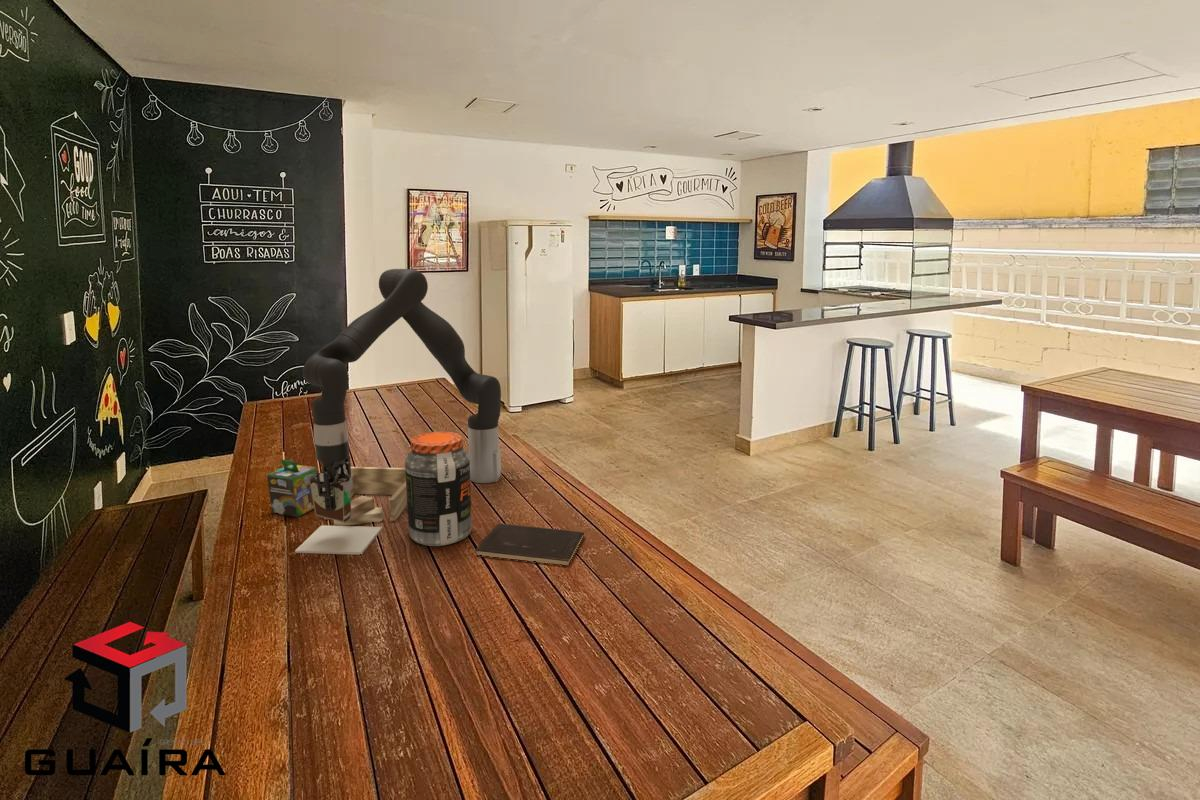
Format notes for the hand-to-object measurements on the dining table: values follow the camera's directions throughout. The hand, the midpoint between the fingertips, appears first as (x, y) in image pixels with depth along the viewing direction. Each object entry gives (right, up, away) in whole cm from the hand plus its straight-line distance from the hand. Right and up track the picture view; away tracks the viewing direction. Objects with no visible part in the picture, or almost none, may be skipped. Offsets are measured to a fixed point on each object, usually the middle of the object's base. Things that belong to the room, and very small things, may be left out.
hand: (337, 503), depth 162 cm
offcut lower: (0, -7, +14) cm, 16 cm away
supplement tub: (+24, -9, +6) cm, 26 cm away
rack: (+1, -4, +24) cm, 24 cm away
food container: (0, -3, +1) cm, 3 cm away
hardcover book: (+48, -11, +1) cm, 49 cm away
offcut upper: (0, -4, +13) cm, 14 cm away
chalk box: (-19, -5, +20) cm, 29 cm away
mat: (0, -10, +2) cm, 10 cm away
